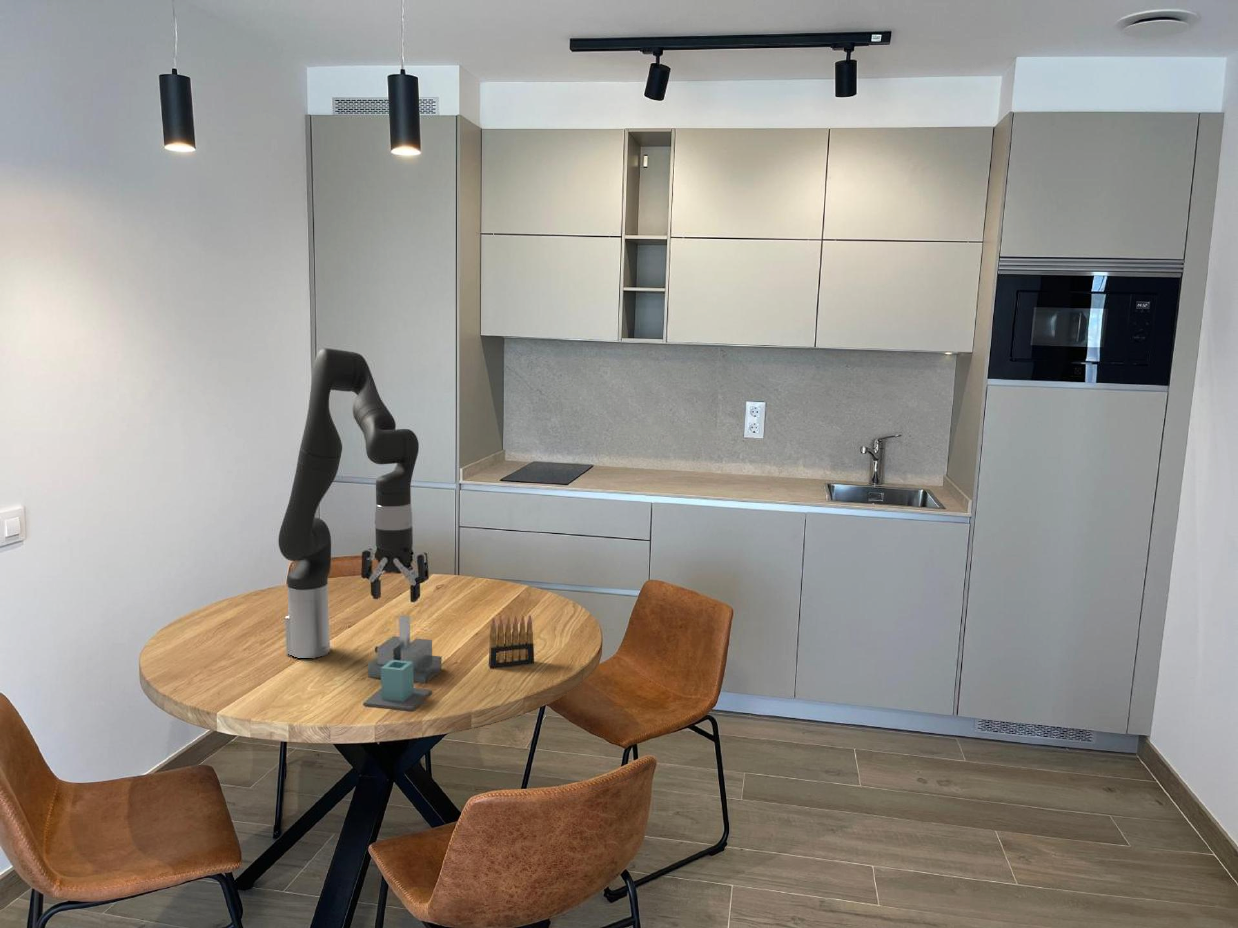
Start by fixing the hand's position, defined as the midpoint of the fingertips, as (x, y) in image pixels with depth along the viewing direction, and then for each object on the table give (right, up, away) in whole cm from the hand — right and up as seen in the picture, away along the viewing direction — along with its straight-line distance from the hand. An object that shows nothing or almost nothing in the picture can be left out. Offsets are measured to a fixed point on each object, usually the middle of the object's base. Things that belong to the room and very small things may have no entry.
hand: (395, 599), depth 188 cm
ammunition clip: (+22, -19, +24) cm, 38 cm away
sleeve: (0, -21, +3) cm, 21 cm away
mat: (0, -22, +3) cm, 22 cm away
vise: (-2, -20, +18) cm, 26 cm away
